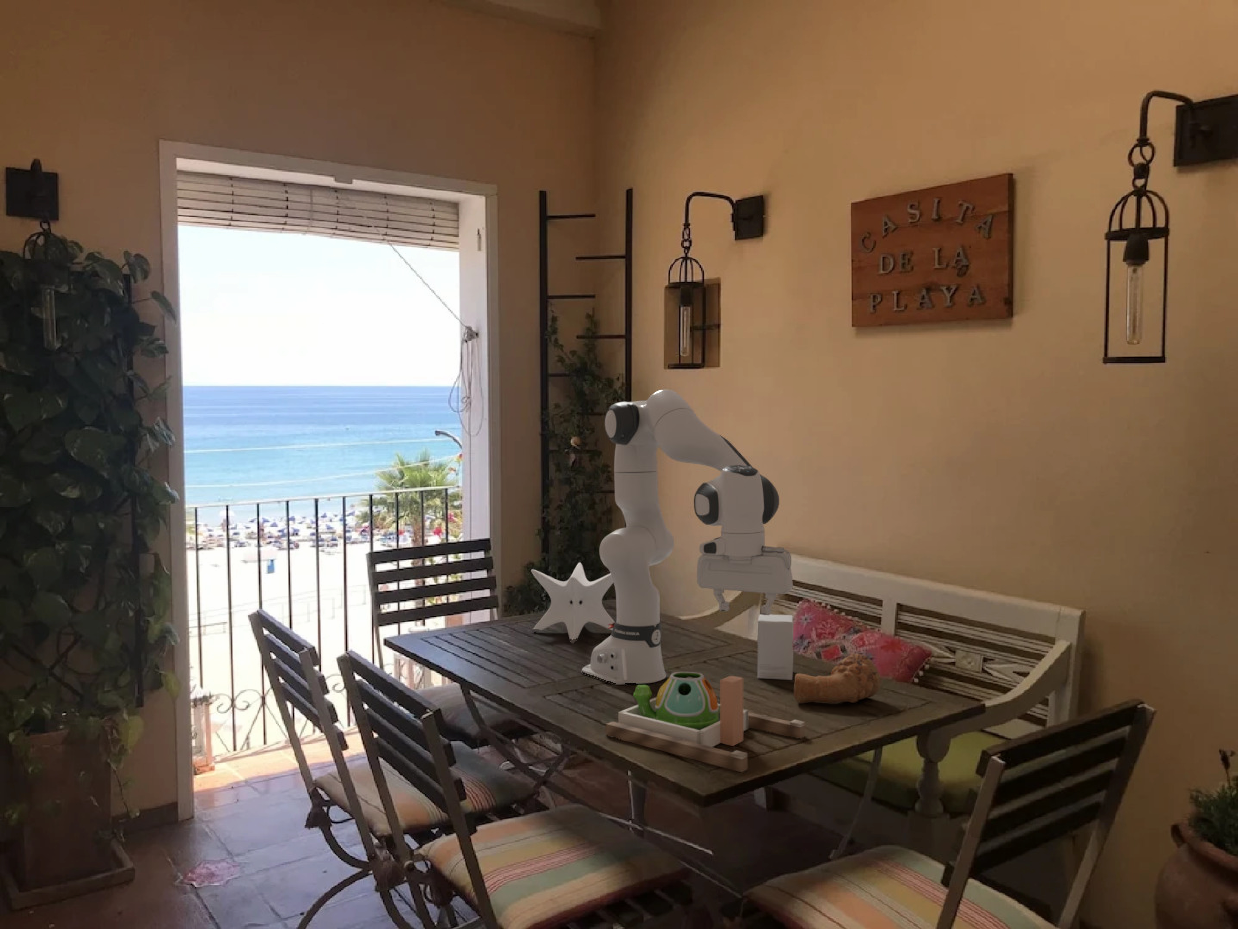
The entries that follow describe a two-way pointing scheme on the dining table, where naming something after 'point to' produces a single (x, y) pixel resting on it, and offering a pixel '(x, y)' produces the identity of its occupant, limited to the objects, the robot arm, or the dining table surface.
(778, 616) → the supplement box
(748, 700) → the dining table surface
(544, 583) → the starfish
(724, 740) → the sled
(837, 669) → the clay pipe
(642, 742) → the bay rails
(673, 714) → the turtle holder
